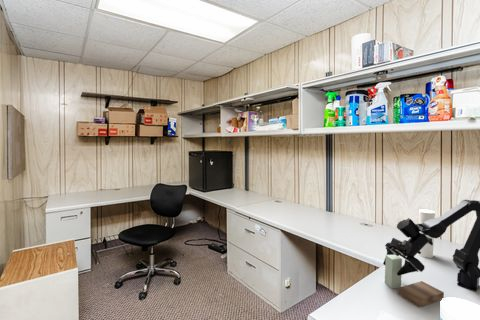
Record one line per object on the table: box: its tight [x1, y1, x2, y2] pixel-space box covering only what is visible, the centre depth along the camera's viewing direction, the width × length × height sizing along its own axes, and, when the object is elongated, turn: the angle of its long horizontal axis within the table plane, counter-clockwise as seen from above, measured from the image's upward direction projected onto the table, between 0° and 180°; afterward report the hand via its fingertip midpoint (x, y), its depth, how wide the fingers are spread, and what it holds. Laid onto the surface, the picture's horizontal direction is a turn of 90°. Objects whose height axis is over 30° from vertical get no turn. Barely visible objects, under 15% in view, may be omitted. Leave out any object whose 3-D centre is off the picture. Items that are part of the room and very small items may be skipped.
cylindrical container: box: [416, 209, 436, 259], centre depth 146 cm, size 7×7×25 cm
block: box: [384, 254, 403, 289], centre depth 117 cm, size 4×4×13 cm
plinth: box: [397, 281, 445, 308], centre depth 108 cm, size 14×9×3 cm, turn 110°
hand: (390, 269), depth 117 cm, fingers open, 9 cm apart
